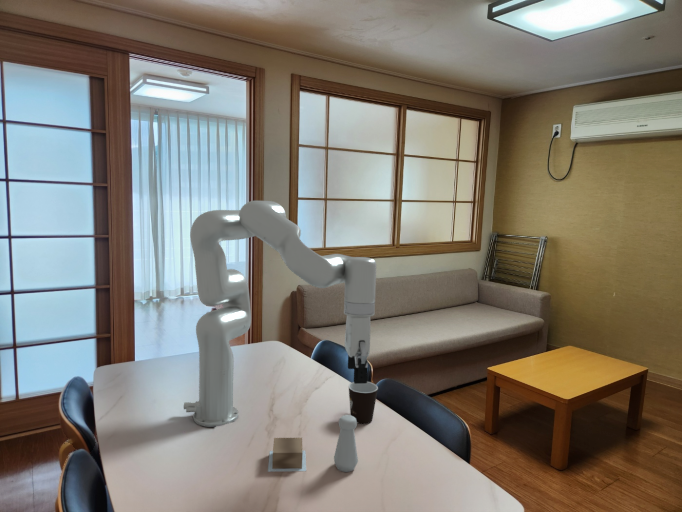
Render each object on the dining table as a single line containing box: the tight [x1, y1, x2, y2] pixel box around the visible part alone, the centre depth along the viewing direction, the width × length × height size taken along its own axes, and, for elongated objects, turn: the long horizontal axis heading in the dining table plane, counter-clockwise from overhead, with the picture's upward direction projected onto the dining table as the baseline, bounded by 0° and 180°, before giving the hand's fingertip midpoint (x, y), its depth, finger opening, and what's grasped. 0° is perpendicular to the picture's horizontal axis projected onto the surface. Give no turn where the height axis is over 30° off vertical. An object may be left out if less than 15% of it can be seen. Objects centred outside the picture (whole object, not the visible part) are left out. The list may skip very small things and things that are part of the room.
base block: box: [272, 437, 304, 469], centre depth 114 cm, size 7×7×4 cm
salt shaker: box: [333, 414, 359, 473], centre depth 112 cm, size 6×6×13 cm
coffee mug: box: [348, 381, 379, 425], centre depth 140 cm, size 12×9×10 cm
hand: (357, 375), depth 116 cm, fingers open, 9 cm apart
